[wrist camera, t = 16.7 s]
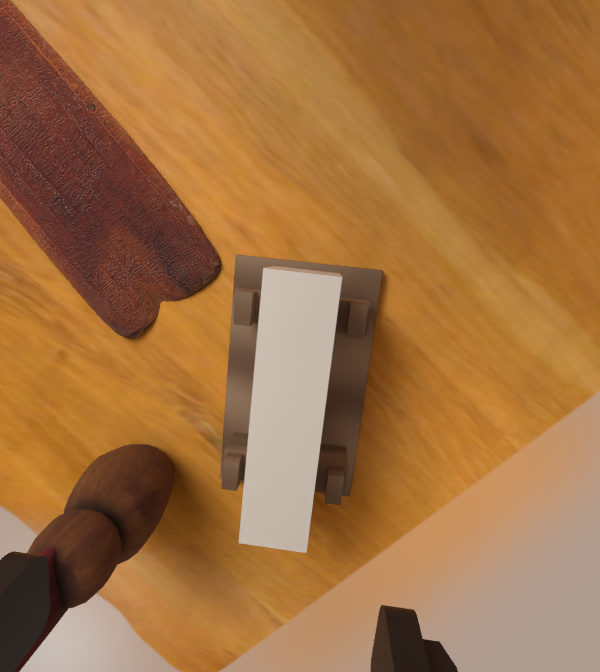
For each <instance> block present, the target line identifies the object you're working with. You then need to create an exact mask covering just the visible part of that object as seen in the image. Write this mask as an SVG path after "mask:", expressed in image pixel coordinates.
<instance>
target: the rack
mask: <svg viewBox="0 0 600 672" xmlns="http://www.w3.org/2000/svg"><path fill="white" fill-rule="evenodd" d="M272 266H279V267H288V268H297V269H305V270H314V271H323V272H332V273H340V274H341V276H342V283H341V291H340V298H339V306H338V314H337V322H336V329H335V337H334V345H333V352H332V360H331V368H330V375H329V383H328V391H327V398H326V406H325V414H324V421H323V429H322V437H321V445H320V452H319V460H318V468H317V475H316V483H315V491H314V492H321V493H325V503H330V504H337V505H340V503H341V496H342V495H343V496H350V491H351V485H352V478H353V471H354V464H355V457H356V450H357V443H358V436H359V430H360V423H361V416H362V409H363V402H364V395H365V388H366V382H367V375H368V368H369V361H370V354H371V347H372V340H373V334H374V327H375V320H376V313H377V306H378V299H379V292H380V285H381V279H382V272H383V271H382V270H374V269H365V268H356V267H346V266H337V265H328V264H319V263H309V262H300V261H291V260H282V259H272V258H263V257H254V256H245V255H236V261H235V275H234V289H233V304H232V318H231V332H230V346H229V360H228V375H227V389H226V403H225V417H224V431H223V446H222V460H221V474H220V479H222V489H227V490H234V491H237V489H238V486H239V483H240V482H244V478H245V467H246V456H247V444H248V433H249V422H250V411H251V400H252V388H253V377H254V366H255V355H256V343H257V332H258V321H259V310H260V299H261V287H262V276H263V268H266V267H272Z"/></svg>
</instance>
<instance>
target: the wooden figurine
mask: <svg viewBox="0 0 600 672" xmlns="http://www.w3.org/2000/svg"><path fill="white" fill-rule="evenodd" d="M172 485H173V469H172V464H171V463H170V461H169V459H168V458H167V456H166V455H165V454H164V453H163V452H161V451H160V450H159V449H158V448H155V447H152V446H150V445H143V444H131V445H126V446H123V447H120V448H118V449H115V450H113V451H110V452H108V453H106V454H104V455H102V456H99V457H98V458H97V459H96V460H95V461H94V462H93V463H91V464H90V465H89V467H88V468H87V469H86V471H85V472H84V473H83V474H82V476H81V477H80V479H79V481H78V482H77V484H76V485H75V487H74V489H73V491H72V493H71V495H70V496H69V499H68V501H67V504H66V506H65V509H64V514H62V515H60V516H58V517H57V518H56V519H54V520H53V521H52V522H51V523H50V524H49V525H48V526H47V527H46V528H45V529H44V530H43V531H42V532H41V533H40V534H39V535H38V536H37V537H36V539H35V540H34V542H33V543H32V545H31V547H30V549H29V551H28V552H27V553H28V554H35V555H42V556H45V557H46V558H47V560H48V570H49V593H50V612H49V617H48V620H47V623H46V625H45V627H44V630H43V632H42V633H41V635H40V637H39V638H38V640H37V641H36V643H35V644H34V645H33V647H32V648H31V649H30V651H29V652H28V653H27V655H26V656H25V657H24V659H23V660H22V661H21V663H20V664H19V665H18V667H17V668H16V669H15V671H14V672H19V671H20V670H21V668H22V667H23V666H24V665H25V664H26V662H27V661H28V660H29V658H30V657H31V656H32V655H33V653H34V652H35V651H36V650H37V648H38V647H39V646H40V645H41V643H42V642H43V641H44V640H45V638H46V637H47V636H48V634H49V633H50V632H51V631H52V629H53V628H54V627H55V625H56V624H57V623H58V621H59V620H60V619H61V617H62V616H63V615H64V613H65V612H66V611H67V610H68V608H73V607H75V606H78V605H80V604H83V603H85V602H87V601H88V600H89V599H90V598H91V597H92V596H94V595H95V594H96V593H97V592H98V591H99V590H100V589H101V588H102V587H103V586H104V585H105V583H106V582H107V581H108V579H109V578H110V576H111V575H112V573H113V571H114V569H115V568H116V566H117V564H120V563H122V562H124V561H127V560H129V559H130V558H131V557H132V556H134V555H135V554H136V553H137V552H138V551H139V550H140V549H141V548H142V546H143V545H144V544H145V542H146V541H147V540H148V538H149V537H150V536H151V534H152V533H153V531H154V530H155V528H156V526H157V525H158V523H159V521H160V519H161V517H162V515H163V513H164V510H165V508H166V505H167V503H168V500H169V497H170V494H171V490H172Z"/></svg>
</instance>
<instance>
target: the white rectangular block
mask: <svg viewBox="0 0 600 672" xmlns="http://www.w3.org/2000/svg"><path fill="white" fill-rule="evenodd" d="M341 283H342V276H341V274H340V273H332V272H323V271H314V270H305V269H297V268H288V267H279V266H272V267H266V268H263V276H262V287H261V299H260V310H259V321H258V332H257V343H256V355H255V366H254V377H253V388H252V400H251V411H250V422H249V433H248V444H247V456H246V467H245V478H244V489H243V501H242V512H241V523H240V534H239V543H242V544H249V545H255V546H262V547H269V548H276V549H283V550H289V551H296V552H303V553H306V552H307V545H308V537H309V529H310V521H311V514H312V506H313V498H314V491H315V483H316V475H317V468H318V460H319V452H320V445H321V437H322V429H323V421H324V414H325V406H326V398H327V391H328V383H329V375H330V368H331V360H332V352H333V345H334V337H335V329H336V322H337V314H338V306H339V298H340V291H341Z"/></svg>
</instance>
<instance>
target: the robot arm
mask: <svg viewBox="0 0 600 672" xmlns="http://www.w3.org/2000/svg"><path fill="white" fill-rule="evenodd" d="M49 612H50V593H49V570H48V560H47V558H46V557H45V556H42V555H35V554H28V553H21V552H11V553H8V554H7V555H5V556H4V557H3V558H2V559H1V560H0V672H14V671H15V669H16V668H17V667H18V665H19V664H20V663H21V661H22V660H23V659H24V657H25V656H26V655H27V653H28V652H29V651H30V649H31V648H32V647H33V645H34V644H35V643H36V641H37V640H38V638H39V637H40V635H41V633H42V632H43V630H44V627H45V625H46V623H47V620H48V617H49ZM371 672H458V671H457V667H456V666H455V664H454V663H453V661H452V660H451V659H450V657H449V655H448V654H447V652H446V651H445V649H444V648H443V646H442V645H441V643H440V642H438V641H431V640H425V639H422V635H421V631H420V626H419V623H418V619H417V615H416V612H415V611H414V610H412V609H405V608H398V607H391V606H384V605H382V606H381V607H380V611H379V616H378V622H377V628H376V634H375V640H374V646H373V652H372V658H371Z"/></svg>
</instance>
